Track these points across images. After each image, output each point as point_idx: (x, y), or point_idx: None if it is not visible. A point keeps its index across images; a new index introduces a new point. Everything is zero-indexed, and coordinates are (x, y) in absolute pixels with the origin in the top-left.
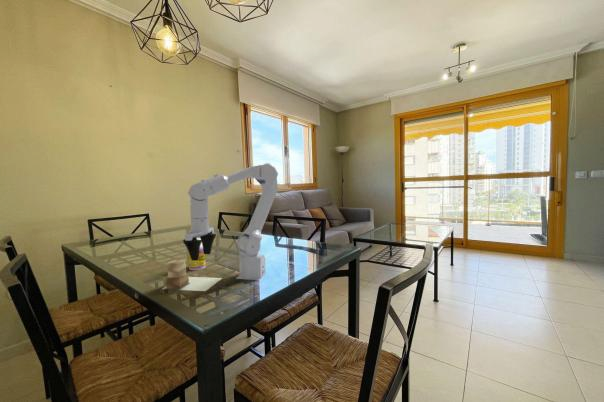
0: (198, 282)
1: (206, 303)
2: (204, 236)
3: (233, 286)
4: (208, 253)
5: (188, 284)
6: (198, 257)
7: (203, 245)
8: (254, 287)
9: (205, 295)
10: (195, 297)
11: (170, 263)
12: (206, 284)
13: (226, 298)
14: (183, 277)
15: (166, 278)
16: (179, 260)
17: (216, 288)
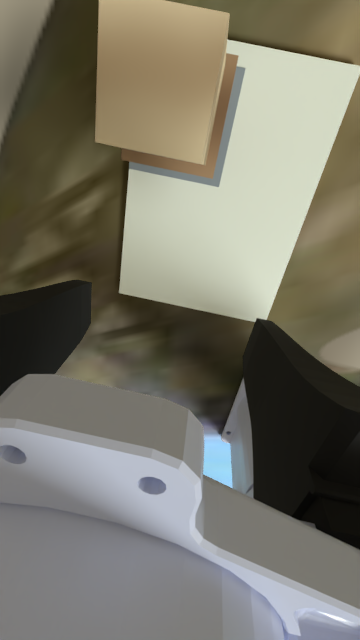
0: (222, 227)
1: None
2: (299, 469)
3: (181, 370)
4: (246, 355)
5: (197, 182)
6: (78, 337)
7: (276, 360)
8: None
9: (100, 297)
10: (80, 266)
11: (98, 38)
12: (192, 275)
13: (85, 365)
14: (162, 167)
15: None
16: (195, 95)
17: (165, 318)
